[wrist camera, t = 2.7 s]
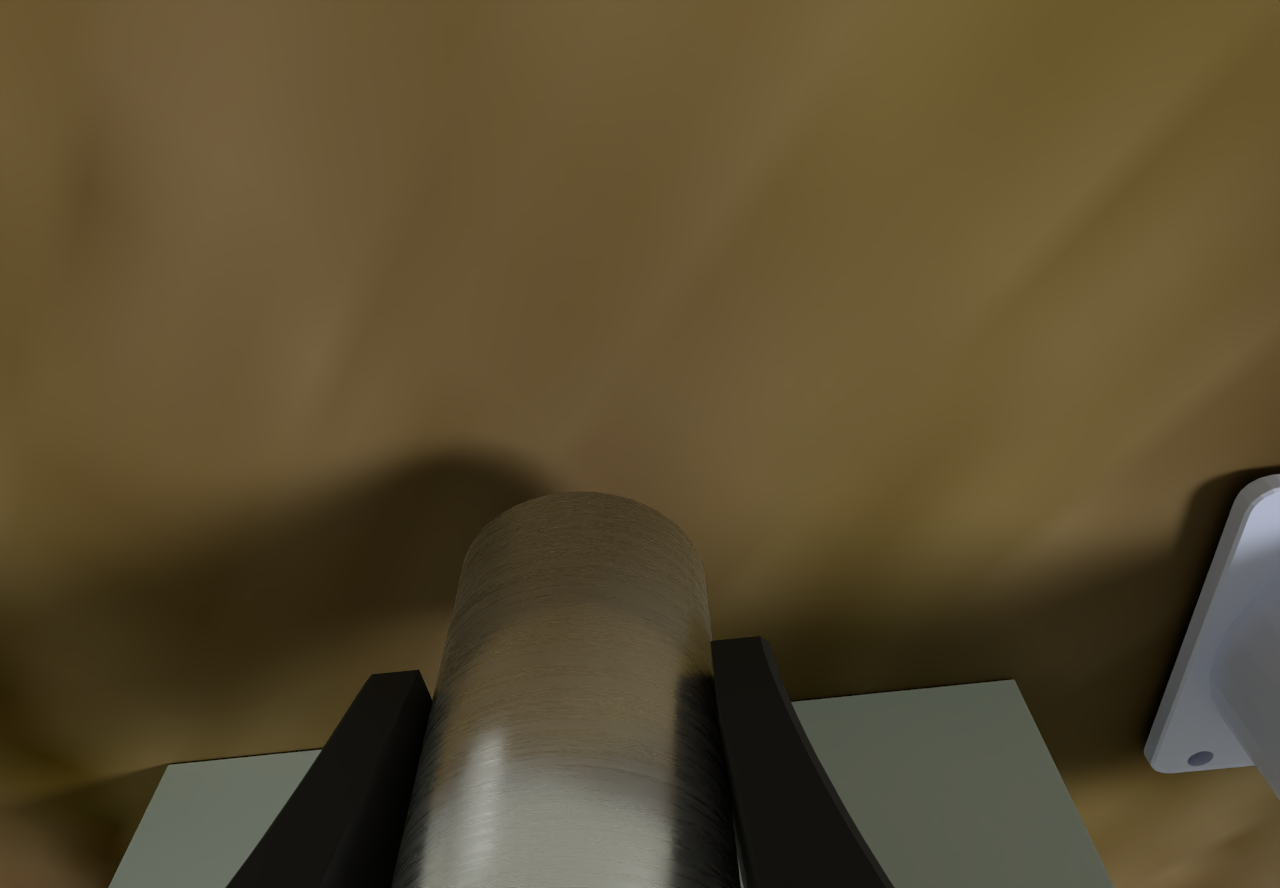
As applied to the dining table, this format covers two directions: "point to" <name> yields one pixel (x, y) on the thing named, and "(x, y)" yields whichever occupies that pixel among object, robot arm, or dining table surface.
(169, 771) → the caddy
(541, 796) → the peg
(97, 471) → the dining table surface
